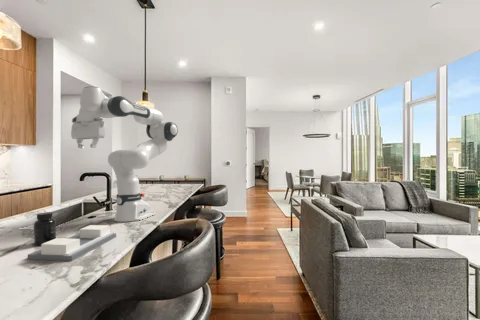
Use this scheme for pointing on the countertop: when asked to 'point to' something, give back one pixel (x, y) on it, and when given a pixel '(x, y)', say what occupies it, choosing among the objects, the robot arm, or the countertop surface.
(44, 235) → the supplement bottle
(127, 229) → the countertop surface
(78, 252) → the rail panel
